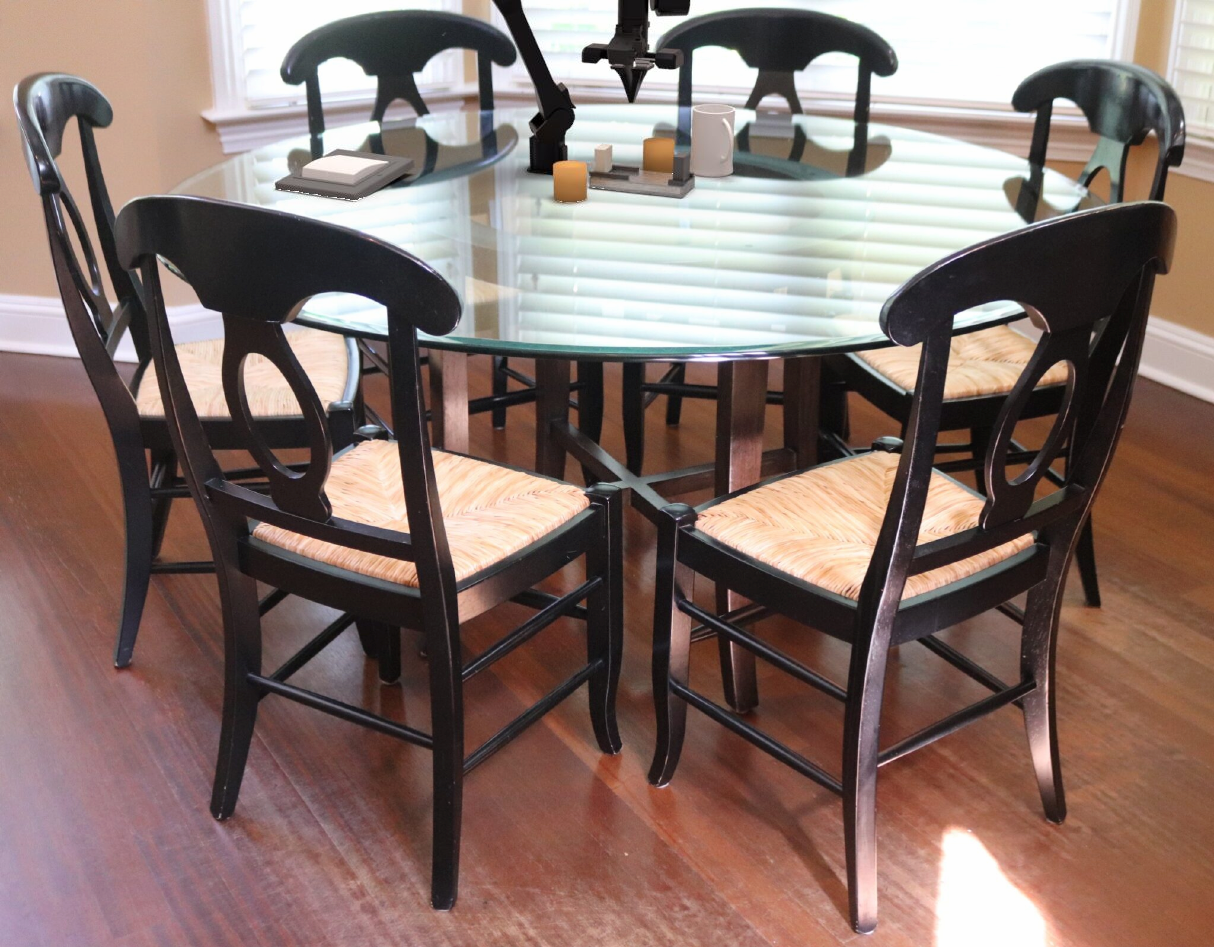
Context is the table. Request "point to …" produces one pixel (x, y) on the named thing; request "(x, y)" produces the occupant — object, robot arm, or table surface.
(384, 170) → the light switch
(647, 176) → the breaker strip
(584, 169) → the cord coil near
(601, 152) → the beige cardboard box
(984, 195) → the table surface
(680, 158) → the toggle black
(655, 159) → the orange short rounded piece
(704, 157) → the mug
